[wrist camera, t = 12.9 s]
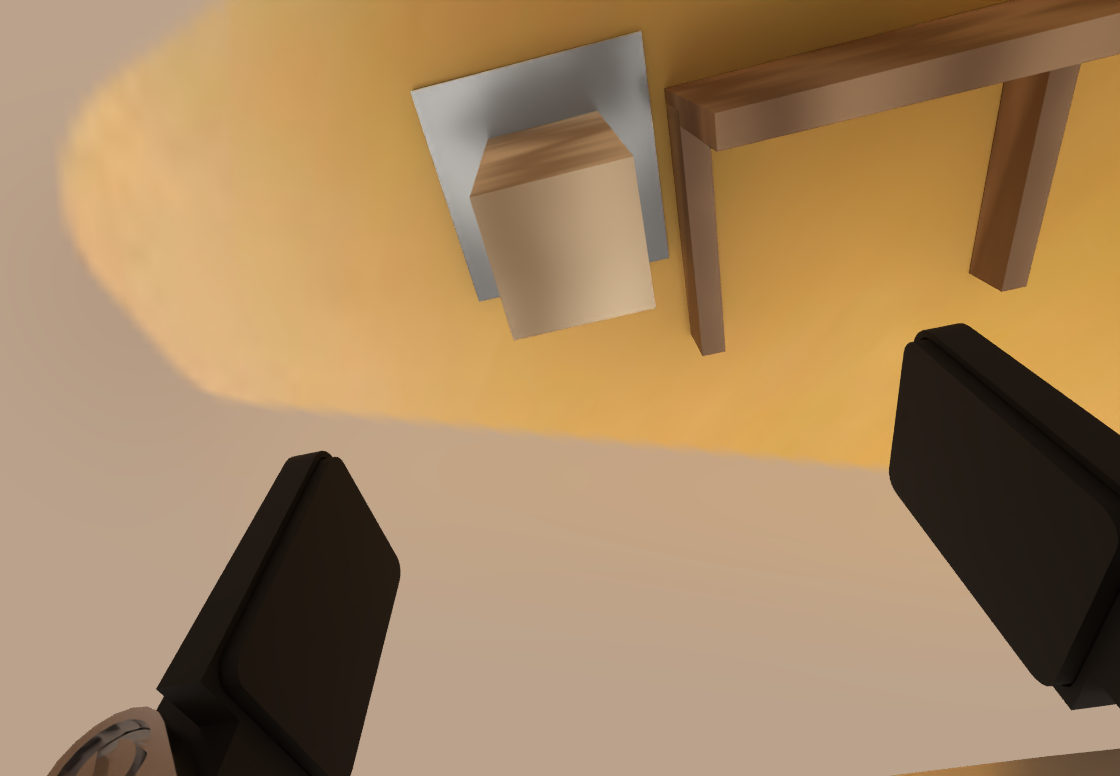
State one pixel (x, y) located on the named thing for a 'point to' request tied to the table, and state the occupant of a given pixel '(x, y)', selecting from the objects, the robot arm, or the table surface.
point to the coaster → (532, 100)
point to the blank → (563, 225)
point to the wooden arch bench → (887, 83)
